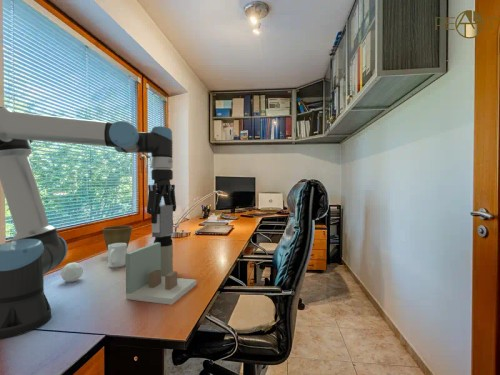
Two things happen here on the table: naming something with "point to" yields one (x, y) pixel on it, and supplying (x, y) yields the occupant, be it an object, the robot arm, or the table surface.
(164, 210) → the grey rectangular box
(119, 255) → the mug
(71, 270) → the ball
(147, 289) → the l-shaped bookend
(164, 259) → the travel mug
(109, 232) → the plant pot
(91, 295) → the table surface
